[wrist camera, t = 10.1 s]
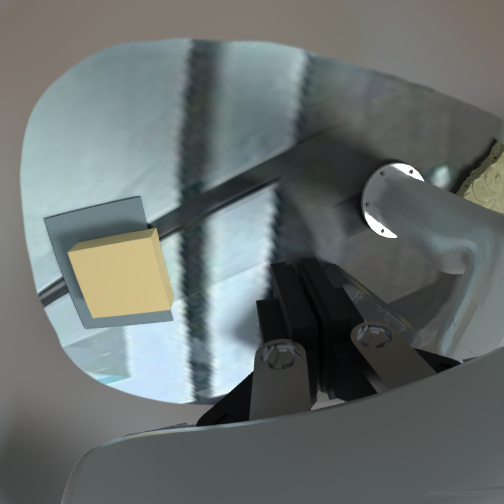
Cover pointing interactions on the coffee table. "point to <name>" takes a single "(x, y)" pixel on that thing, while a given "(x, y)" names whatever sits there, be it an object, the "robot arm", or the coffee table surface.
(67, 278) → the mat
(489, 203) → the decorative tile
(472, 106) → the coffee table surface
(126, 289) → the pale yellow block
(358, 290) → the cash box
